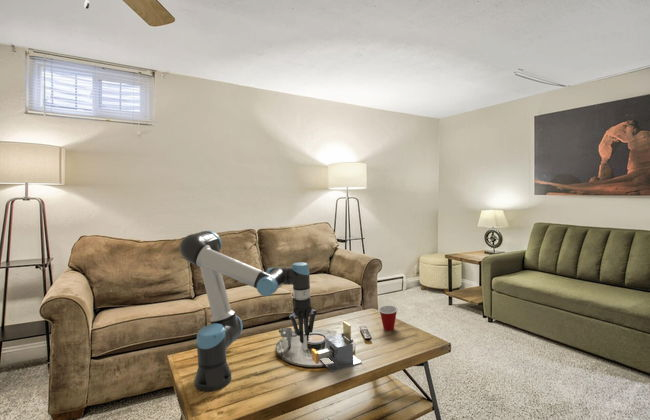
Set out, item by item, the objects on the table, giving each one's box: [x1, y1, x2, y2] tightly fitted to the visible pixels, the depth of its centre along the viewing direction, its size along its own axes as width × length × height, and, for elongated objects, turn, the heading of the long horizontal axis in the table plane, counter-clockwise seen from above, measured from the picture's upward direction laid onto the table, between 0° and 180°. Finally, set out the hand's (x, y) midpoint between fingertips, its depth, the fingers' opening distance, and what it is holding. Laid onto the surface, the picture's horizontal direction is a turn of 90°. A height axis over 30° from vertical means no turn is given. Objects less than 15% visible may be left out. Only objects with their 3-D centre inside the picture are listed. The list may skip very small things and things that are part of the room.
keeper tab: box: [342, 320, 352, 340], centre depth 163 cm, size 7×6×1 cm
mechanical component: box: [278, 327, 299, 348], centre depth 177 cm, size 3×10×10 cm, turn 89°
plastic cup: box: [378, 305, 398, 332], centre depth 197 cm, size 11×11×12 cm
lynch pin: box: [311, 347, 334, 365], centre depth 159 cm, size 14×5×5 cm, turn 116°
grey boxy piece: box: [325, 332, 363, 373], centre depth 162 cm, size 16×14×11 cm
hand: (304, 348), depth 154 cm, fingers closed
